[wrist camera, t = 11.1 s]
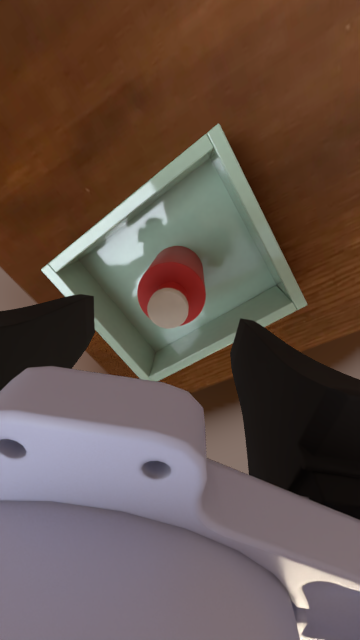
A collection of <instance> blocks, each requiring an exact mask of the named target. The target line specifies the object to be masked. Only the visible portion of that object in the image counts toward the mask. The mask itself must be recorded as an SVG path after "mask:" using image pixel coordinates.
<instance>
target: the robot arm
mask: <svg viewBox="0 0 360 640" xmlns="http://www.w3.org/2000/svg"><path fill="white" fill-rule="evenodd" d="M94 333H95V324H94V296H90V295H84V294H78V295H72V296H68V297H64V298H60V299H56V300H52V301H48V302H45V303H40V304H36V305H32V306H28V307H23V308H18V309H13V310H7V311H0V640H360V380H359V379H356V378H353V377H351V376H348V375H346V374H343V373H341V372H339V371H336V370H334V369H332V368H330V367H327V366H325V365H323V364H321V363H319V362H317V361H315V360H313V359H312V358H310V357H308V356H306V355H304V354H302V353H301V352H299V351H297V350H296V349H294V348H293V347H291V346H290V345H288V344H286V343H285V342H284V341H282V340H281V339H279V338H278V337H276V336H275V335H274V334H272V333H271V332H270V331H268V330H267V329H266V328H264V327H263V326H261V325H260V324H258V323H257V322H255V321H253V320H248V319H242V318H240V321H239V324H238V328H237V331H236V335H235V338H234V342H233V346H232V349H231V353H230V354H231V367H232V373H233V377H234V381H235V385H236V389H237V393H238V397H239V401H240V405H241V410H242V414H243V421H244V429H245V437H246V447H247V457H248V468H249V475H248V474H245V473H243V472H240V471H238V470H236V469H233V468H231V467H228V466H226V465H223V464H221V463H219V462H216V461H213V460H211V459H209V458H206V434H205V420H204V411H203V407H202V406H201V405H200V404H199V403H198V402H197V401H196V399H194V397H193V396H192V395H191V394H190V393H189V392H188V391H185V390H182V389H180V388H177V387H174V386H171V385H169V384H166V383H163V382H156V381H149V380H142V379H136V378H129V377H122V376H116V375H109V374H102V373H95V372H88V371H82V370H75V369H72V367H73V366H74V365H75V363H76V362H77V361H78V359H79V358H80V357H81V355H82V354H83V352H84V351H85V350H86V348H87V347H88V345H89V343H90V341H91V339H92V337H93V335H94Z"/></svg>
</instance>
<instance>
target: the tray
mask: <svg viewBox="0 0 360 640" xmlns="http://www.w3.org/2000/svg"><path fill="white" fill-rule="evenodd" d="M171 246H183V247H186V248H189V249H190V250H192V251H193V252H195V253H196V254H197V256H198V257H199V258H200V260H201V263H202V266H203V273H204V282H205V291H206V300H205V304H204V307H203V309H202V311H201V313H200V314H199V315H198V316H197V317H196V318H195V319H194V320H193V321H191V322H190V323H188V324H185V325H182V326H178V327H176V328H171V329H166V328H162V327H159V326H157V325H156V324H154V323H153V322H152V320H151V319H150V318H149V317H147V316H146V314H145V313H144V312H143V310H142V309H141V307H140V305H139V302H138V296H137V289H138V285H139V282H140V280H141V278H142V276H143V275H144V273H145V272H146V271H147V269H148V268H149V266H150V265H151V264H152V262H153V261H154V259H155V258H156V257H157V255H158V254H159V253H160V252H161V251H162V250H164V249H166V248H168V247H171ZM41 271H42V272H43V273H44V274H45V275H46V276H47V277H48V278H49V279H50V281H51V282H52V283H53V284H54V285H55V286H56V287H57V288H58V289H59V290H60V291H61V293H62V294H63V295H64V296H65V297H68V296H72V295H78V294H84V295H90V296H94V324H95V330H96V331H97V332H98V333H99V334H100V335H101V336H102V338H103V339H104V340H105V341H106V342H107V343H108V344H109V345H110V346H111V347H112V349H113V350H114V351H115V352H116V353H117V354H118V355H119V356H120V357H121V358H122V360H123V361H124V362H125V363H126V364H127V365H128V366H129V367H130V368H131V369H132V371H133V372H134V373H135V374H136V375H137V376H138V377H139V378H140V379H142V380H149V381H156V382H157V381H159V380H161V379H163V378H165V377H167V376H169V375H171V374H173V373H175V372H177V371H179V370H181V369H183V368H185V367H187V366H189V365H191V364H192V363H194V362H196V361H198V360H200V359H202V358H204V357H206V356H208V355H210V354H212V353H214V352H216V351H218V350H220V349H222V348H224V347H226V346H228V345H230V344H232V343H233V342H234V338H235V335H236V331H237V328H238V324H239V321H240V318H242V319H248V320H253V321H255V322H257V323H258V324H260V325H261V326H263V327H265V326H267V325H269V324H271V323H273V322H275V321H277V320H279V319H281V318H283V317H285V316H287V315H289V314H291V313H293V312H295V311H296V309H297V310H299V309H301V308H303V307H305V306H306V305H307V302H306V300H305V298H304V296H303V294H302V292H301V290H300V288H299V286H298V284H297V282H296V280H295V278H294V275H293V273H292V271H291V269H290V267H289V265H288V263H287V261H286V259H285V257H284V255H283V253H282V251H281V249H280V247H279V245H278V243H277V241H276V239H275V236H274V234H273V232H272V230H271V228H270V226H269V224H268V222H267V220H266V218H265V216H264V214H263V212H262V210H261V208H260V206H259V204H258V202H257V200H256V197H255V195H254V193H253V191H252V189H251V187H250V185H249V183H248V181H247V179H246V177H245V175H244V173H243V171H242V169H241V167H240V165H239V163H238V161H237V158H236V156H235V154H234V152H233V150H232V148H231V146H230V144H229V142H228V140H227V138H226V136H225V134H224V132H223V130H222V128H221V126H220V124H217V125H216V126H214V127H213V128H212V129H211V130H210V131H208V132H207V134H205V135H203V136H202V137H201V138H200V139H199V140H197V141H196V142H195V143H194V144H193V145H191V146H190V147H189V148H188V149H186V150H185V151H184V152H183V153H182V154H180V155H179V156H178V157H177V158H176V159H174V160H173V161H172V162H171V163H169V164H168V165H167V166H166V167H165V168H163V169H162V170H161V171H160V172H159V173H157V174H156V175H155V176H154V177H152V178H151V179H150V180H149V181H148V182H146V183H145V184H144V185H143V186H142V187H140V188H139V189H138V190H137V191H135V192H134V193H133V194H132V195H131V196H129V197H128V198H127V199H126V200H125V201H123V202H122V203H121V204H120V205H118V206H117V207H116V208H115V209H114V210H112V211H111V212H110V213H109V214H108V215H106V216H105V217H104V218H103V219H101V220H100V221H99V222H98V223H97V224H95V225H94V226H93V227H92V228H91V229H89V230H88V231H87V232H86V233H84V234H83V235H82V236H81V237H80V238H78V239H77V240H76V241H75V242H74V243H72V244H71V245H70V246H69V247H67V248H66V249H65V250H64V251H63V252H61V253H60V254H59V255H58V256H57V257H55V258H54V259H53V260H52V261H50V262H49V264H47V265H46V266H44V267H43V268H42V269H41Z"/></svg>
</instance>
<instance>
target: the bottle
mask: <svg viewBox="0 0 360 640" xmlns="http://www.w3.org/2000/svg"><path fill="white" fill-rule="evenodd" d="M137 296H138V302H139V305H140V307H141V309H142V310H143V312H144V313H145V314H146V316H147V317H149V318H150V319H151V320H152V322H153V323H154V324H156V325H157V326H159V327H162V328H166V329H171V328H176V327H178V326H182V325H185V324H188V323H190V322H191V321H193V320H194V319H195V318H196V317H197V316H198V315H199V314H200V313H201V311H202V309H203V307H204V304H205V300H206V291H205V282H204V273H203V266H202V263H201V260H200V258H199V257H198V256H197V254H196V253H195V252H193V251H192V250H190V249H189V248H186V247H183V246H171V247H168V248H166V249H164V250H162V251H161V252H160V253H159V254H158V255H157V257H156V258H155V259H154V261H153V262H152V264H151V265H150V266H149V268H148V269H147V271H146V272H145V273H144V275H143V276H142V278H141V280H140V282H139V285H138V289H137Z"/></svg>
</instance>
